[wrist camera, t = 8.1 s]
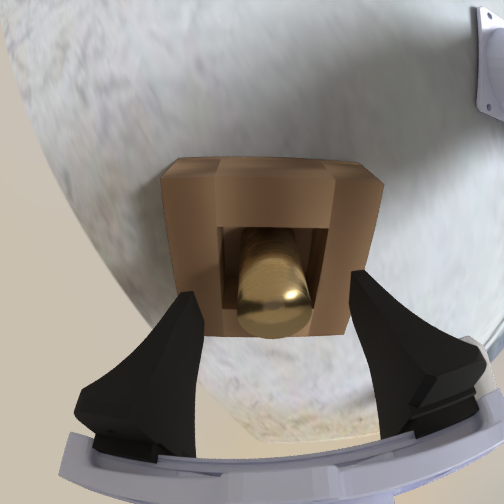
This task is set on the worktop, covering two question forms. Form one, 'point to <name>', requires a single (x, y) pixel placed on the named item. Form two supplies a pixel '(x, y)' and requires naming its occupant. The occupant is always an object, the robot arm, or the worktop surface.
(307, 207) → the hole block
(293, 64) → the worktop surface
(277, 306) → the bronze pin
